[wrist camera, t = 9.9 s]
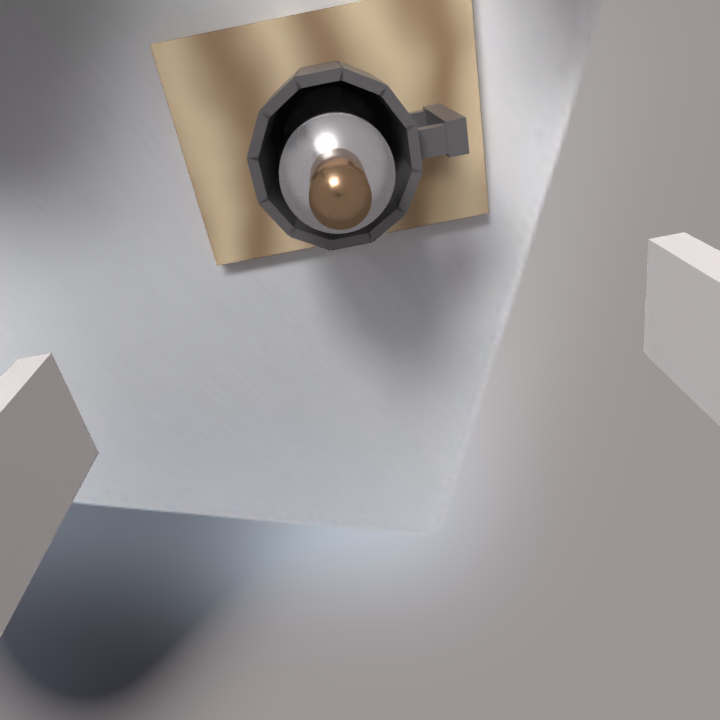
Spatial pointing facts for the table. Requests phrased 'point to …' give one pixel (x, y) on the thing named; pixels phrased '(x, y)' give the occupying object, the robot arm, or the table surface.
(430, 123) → the dark grey mug
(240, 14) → the table surface
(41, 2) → the table surface
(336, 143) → the plunger
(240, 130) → the board
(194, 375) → the table surface
